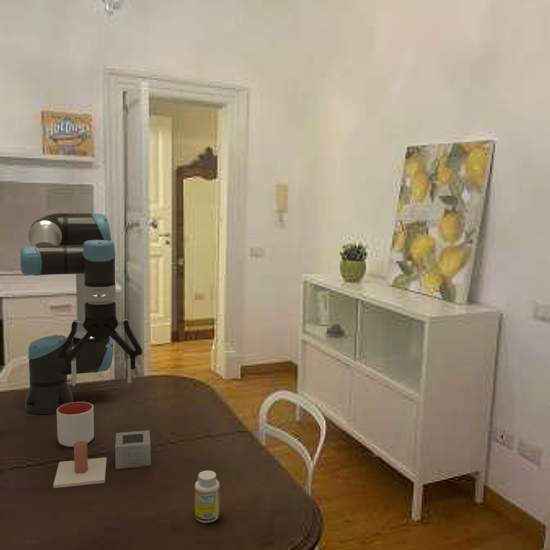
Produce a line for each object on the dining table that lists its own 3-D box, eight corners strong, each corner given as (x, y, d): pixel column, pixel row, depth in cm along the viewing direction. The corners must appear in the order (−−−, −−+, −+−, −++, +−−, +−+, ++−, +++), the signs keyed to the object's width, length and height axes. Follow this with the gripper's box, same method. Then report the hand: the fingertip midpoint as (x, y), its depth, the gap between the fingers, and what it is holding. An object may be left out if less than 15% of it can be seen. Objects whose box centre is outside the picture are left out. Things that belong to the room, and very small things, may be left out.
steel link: (116, 453, 153) (116, 433, 152) (149, 450, 155) (149, 430, 154) (115, 469, 144) (115, 447, 144) (150, 465, 147) (150, 444, 146)
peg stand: (59, 464, 146) (58, 436, 145) (106, 460, 149) (105, 432, 148) (53, 488, 134) (52, 457, 133) (104, 482, 138) (104, 452, 136)
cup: (82, 450, 154) (81, 416, 153) (50, 446, 156) (49, 413, 155) (100, 435, 164) (99, 403, 162) (70, 431, 166) (69, 400, 164)
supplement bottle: (207, 507, 128) (208, 465, 127) (224, 516, 125) (225, 474, 123) (189, 517, 124) (189, 474, 122) (206, 527, 120) (206, 483, 119)
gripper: (44, 305, 132) (47, 390, 135) (151, 303, 138) (151, 384, 141) (50, 299, 139) (53, 380, 142) (150, 297, 145) (151, 375, 148)
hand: (102, 382), depth 141 cm, fingers open, 13 cm apart
